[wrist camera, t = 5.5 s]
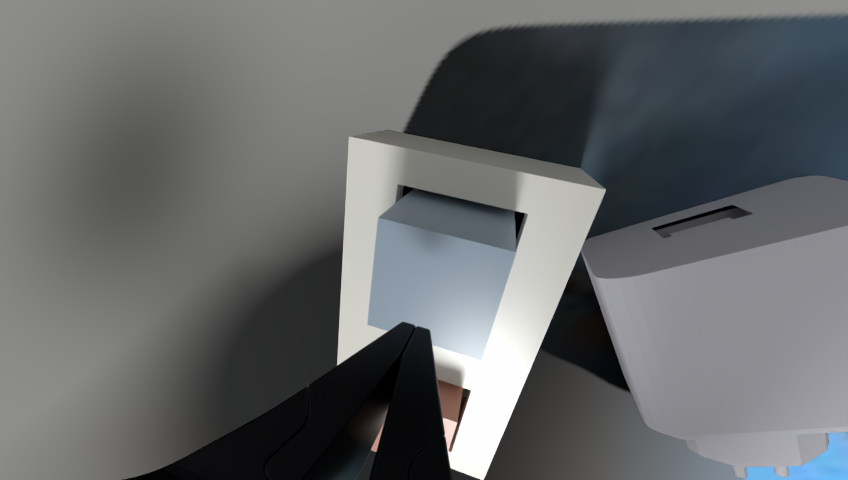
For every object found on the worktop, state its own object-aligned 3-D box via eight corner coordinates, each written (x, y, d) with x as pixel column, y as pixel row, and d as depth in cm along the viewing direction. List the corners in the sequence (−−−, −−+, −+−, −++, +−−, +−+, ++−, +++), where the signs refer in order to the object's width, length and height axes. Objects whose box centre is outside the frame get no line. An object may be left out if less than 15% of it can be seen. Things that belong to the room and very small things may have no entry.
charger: (644, 437, 20) (575, 239, 17) (836, 424, 17) (804, 170, 13) (679, 523, 16) (598, 283, 12) (946, 530, 13) (946, 199, 9)
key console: (488, 414, 23) (483, 480, 19) (363, 372, 24) (334, 424, 20) (580, 168, 15) (606, 189, 11) (387, 129, 17) (348, 136, 13)
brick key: (453, 405, 21) (440, 476, 17) (390, 383, 22) (362, 446, 18) (468, 356, 19) (457, 422, 15) (398, 334, 20) (369, 391, 16)
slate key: (488, 295, 15) (481, 360, 11) (402, 271, 16) (367, 324, 12) (514, 209, 14) (516, 252, 9) (415, 187, 14) (377, 217, 10)
